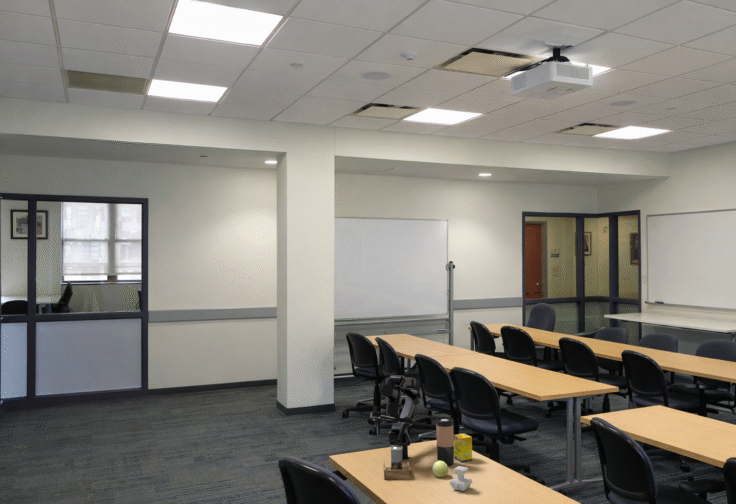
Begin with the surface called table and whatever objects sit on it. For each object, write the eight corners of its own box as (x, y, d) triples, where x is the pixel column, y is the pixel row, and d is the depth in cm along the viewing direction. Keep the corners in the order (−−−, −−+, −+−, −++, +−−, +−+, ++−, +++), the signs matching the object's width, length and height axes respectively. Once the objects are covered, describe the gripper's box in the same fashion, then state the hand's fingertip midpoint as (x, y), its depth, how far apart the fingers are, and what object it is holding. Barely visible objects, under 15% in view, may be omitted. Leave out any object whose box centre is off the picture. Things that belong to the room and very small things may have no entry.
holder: (383, 470, 258) (383, 461, 258) (408, 469, 258) (408, 461, 258) (384, 479, 247) (384, 470, 247) (410, 478, 247) (410, 470, 247)
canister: (401, 469, 256) (400, 444, 256) (403, 473, 251) (403, 448, 251) (389, 469, 255) (389, 445, 255) (392, 474, 250) (392, 449, 250)
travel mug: (454, 461, 267) (453, 416, 268) (454, 467, 260) (453, 421, 260) (436, 461, 268) (435, 416, 269) (437, 467, 261) (436, 421, 261)
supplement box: (454, 458, 271) (453, 434, 271) (465, 456, 273) (464, 433, 274) (461, 462, 265) (460, 438, 266) (472, 460, 268) (472, 436, 268)
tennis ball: (448, 458, 252) (433, 457, 254) (446, 466, 245) (430, 464, 247) (449, 472, 253) (433, 471, 254) (447, 480, 246) (431, 479, 248)
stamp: (458, 483, 241) (458, 463, 241) (473, 487, 237) (473, 466, 237) (448, 491, 233) (447, 469, 233) (463, 494, 229) (463, 472, 230)
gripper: (409, 409, 276) (405, 444, 269) (370, 401, 274) (365, 436, 268) (415, 405, 266) (410, 441, 259) (374, 397, 264) (369, 433, 258)
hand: (388, 437), depth 261 cm, fingers open, 9 cm apart
